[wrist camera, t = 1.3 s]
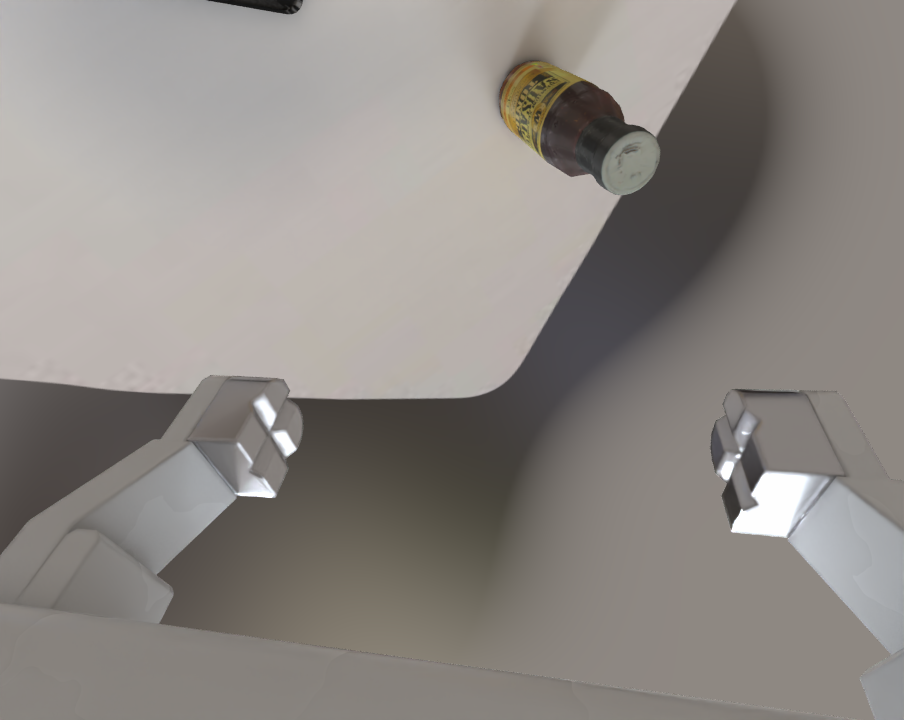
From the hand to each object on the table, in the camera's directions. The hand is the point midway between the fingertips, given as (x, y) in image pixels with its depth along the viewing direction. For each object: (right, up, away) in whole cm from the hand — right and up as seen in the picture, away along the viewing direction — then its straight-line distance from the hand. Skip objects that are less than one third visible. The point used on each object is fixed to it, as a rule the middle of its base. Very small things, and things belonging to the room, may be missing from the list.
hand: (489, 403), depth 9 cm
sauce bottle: (+6, +25, +37) cm, 45 cm away
